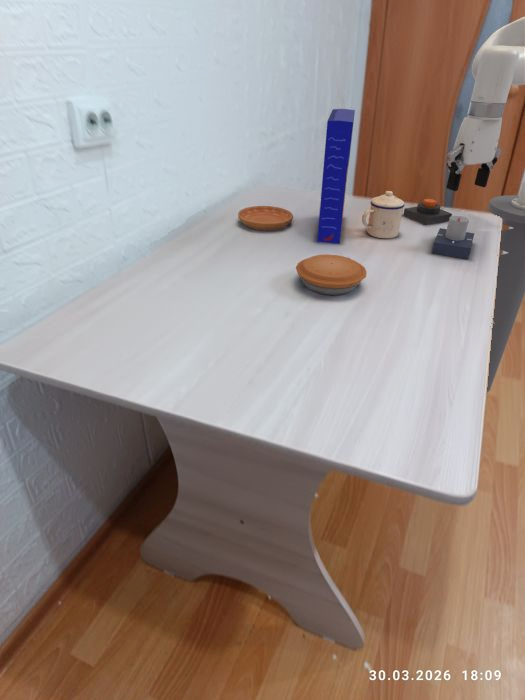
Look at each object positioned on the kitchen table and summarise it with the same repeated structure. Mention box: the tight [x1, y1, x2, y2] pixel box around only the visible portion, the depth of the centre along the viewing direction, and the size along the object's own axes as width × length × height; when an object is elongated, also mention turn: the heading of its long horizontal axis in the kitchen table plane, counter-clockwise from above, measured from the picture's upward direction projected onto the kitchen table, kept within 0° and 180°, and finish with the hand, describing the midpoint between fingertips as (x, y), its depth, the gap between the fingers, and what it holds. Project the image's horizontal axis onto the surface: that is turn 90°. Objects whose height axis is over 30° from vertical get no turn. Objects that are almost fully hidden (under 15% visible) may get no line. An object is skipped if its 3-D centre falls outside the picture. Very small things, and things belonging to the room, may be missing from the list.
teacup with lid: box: [361, 190, 405, 239], centre depth 132 cm, size 12×9×12 cm
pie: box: [295, 253, 367, 296], centre depth 106 cm, size 15×16×5 cm
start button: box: [423, 198, 437, 207], centre depth 145 cm, size 4×4×2 cm
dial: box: [445, 215, 470, 241], centre depth 124 cm, size 5×5×5 cm
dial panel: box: [431, 227, 475, 260], centre depth 126 cm, size 12×9×3 cm
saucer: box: [237, 205, 294, 232], centre depth 140 cm, size 16×16×3 cm
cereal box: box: [316, 108, 356, 244], centre depth 129 cm, size 22×6×30 cm, turn 170°
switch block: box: [402, 201, 453, 226], centre depth 147 cm, size 10×10×4 cm
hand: (466, 187), depth 118 cm, fingers open, 9 cm apart
